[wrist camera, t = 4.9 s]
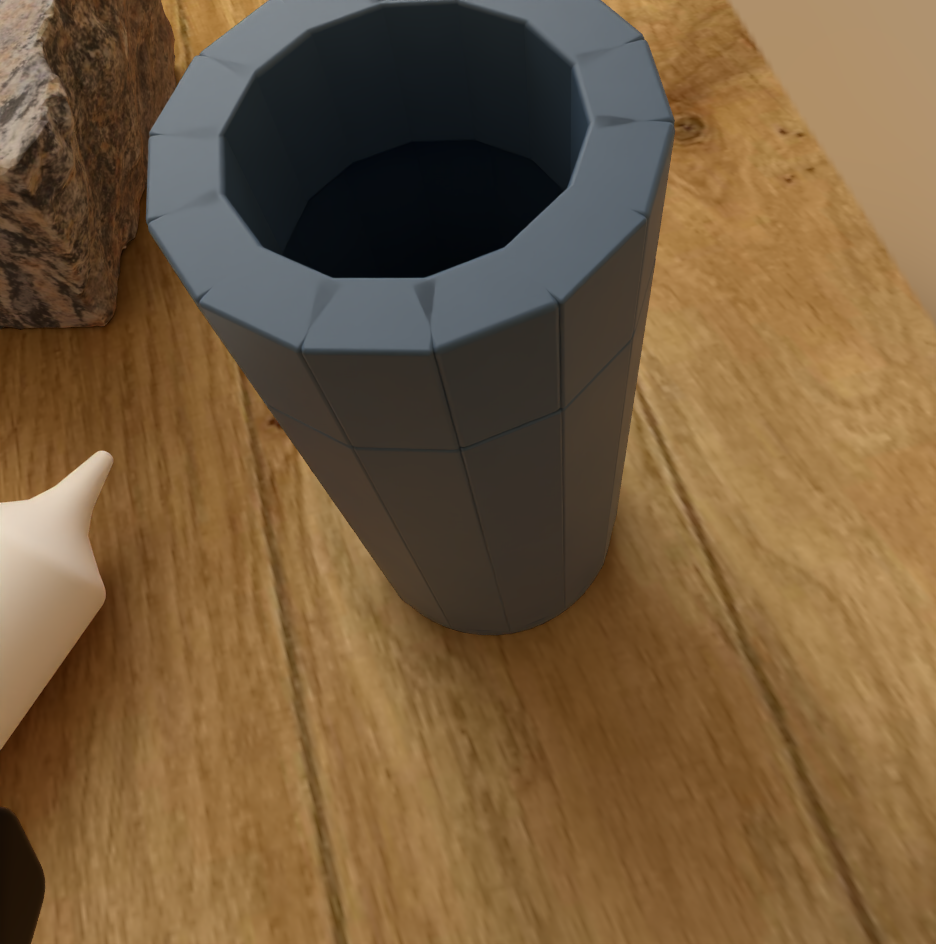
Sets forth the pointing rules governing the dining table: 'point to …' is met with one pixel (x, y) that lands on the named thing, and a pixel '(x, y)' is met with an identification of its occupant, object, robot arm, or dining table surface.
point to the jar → (432, 271)
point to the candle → (46, 585)
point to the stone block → (74, 150)
